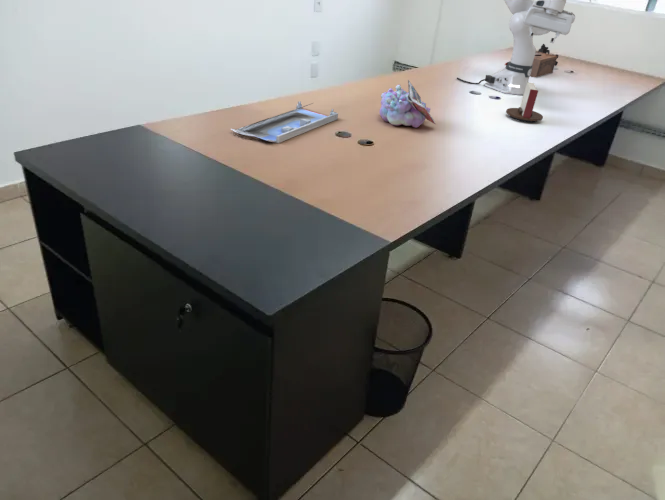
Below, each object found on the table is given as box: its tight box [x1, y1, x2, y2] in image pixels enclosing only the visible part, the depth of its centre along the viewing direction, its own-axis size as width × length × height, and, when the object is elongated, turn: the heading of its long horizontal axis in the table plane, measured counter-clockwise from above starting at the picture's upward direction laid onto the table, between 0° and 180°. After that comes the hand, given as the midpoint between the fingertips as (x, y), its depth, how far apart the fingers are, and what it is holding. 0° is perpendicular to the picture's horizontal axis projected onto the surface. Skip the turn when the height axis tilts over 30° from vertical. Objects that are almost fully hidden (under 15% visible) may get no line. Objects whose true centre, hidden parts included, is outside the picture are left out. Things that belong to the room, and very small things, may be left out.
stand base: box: [509, 115, 538, 124], centre depth 246 cm, size 12×12×1 cm
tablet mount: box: [537, 43, 559, 66], centre depth 374 cm, size 27×14×17 cm
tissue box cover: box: [530, 50, 558, 78], centre depth 336 cm, size 26×14×10 cm, turn 139°
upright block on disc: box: [505, 81, 544, 122], centre depth 242 cm, size 16×16×13 cm
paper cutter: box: [230, 101, 339, 144], centre depth 203 cm, size 18×45×6 cm, turn 148°
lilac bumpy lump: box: [379, 79, 436, 129], centre depth 219 cm, size 20×22×18 cm
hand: (541, 39), depth 244 cm, fingers open, 8 cm apart
